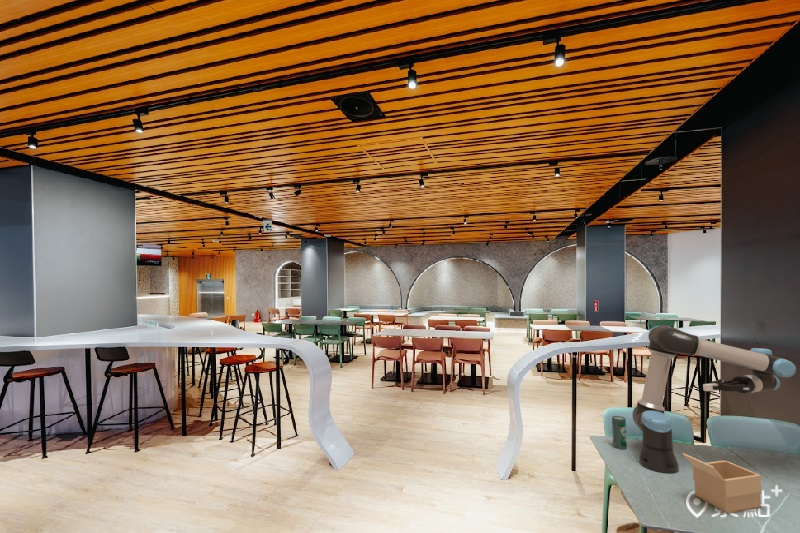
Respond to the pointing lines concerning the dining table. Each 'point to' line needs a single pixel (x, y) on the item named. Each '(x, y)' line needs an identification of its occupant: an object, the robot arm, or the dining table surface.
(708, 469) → the flap
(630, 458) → the dining table surface
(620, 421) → the can
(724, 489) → the carton
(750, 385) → the robot arm
